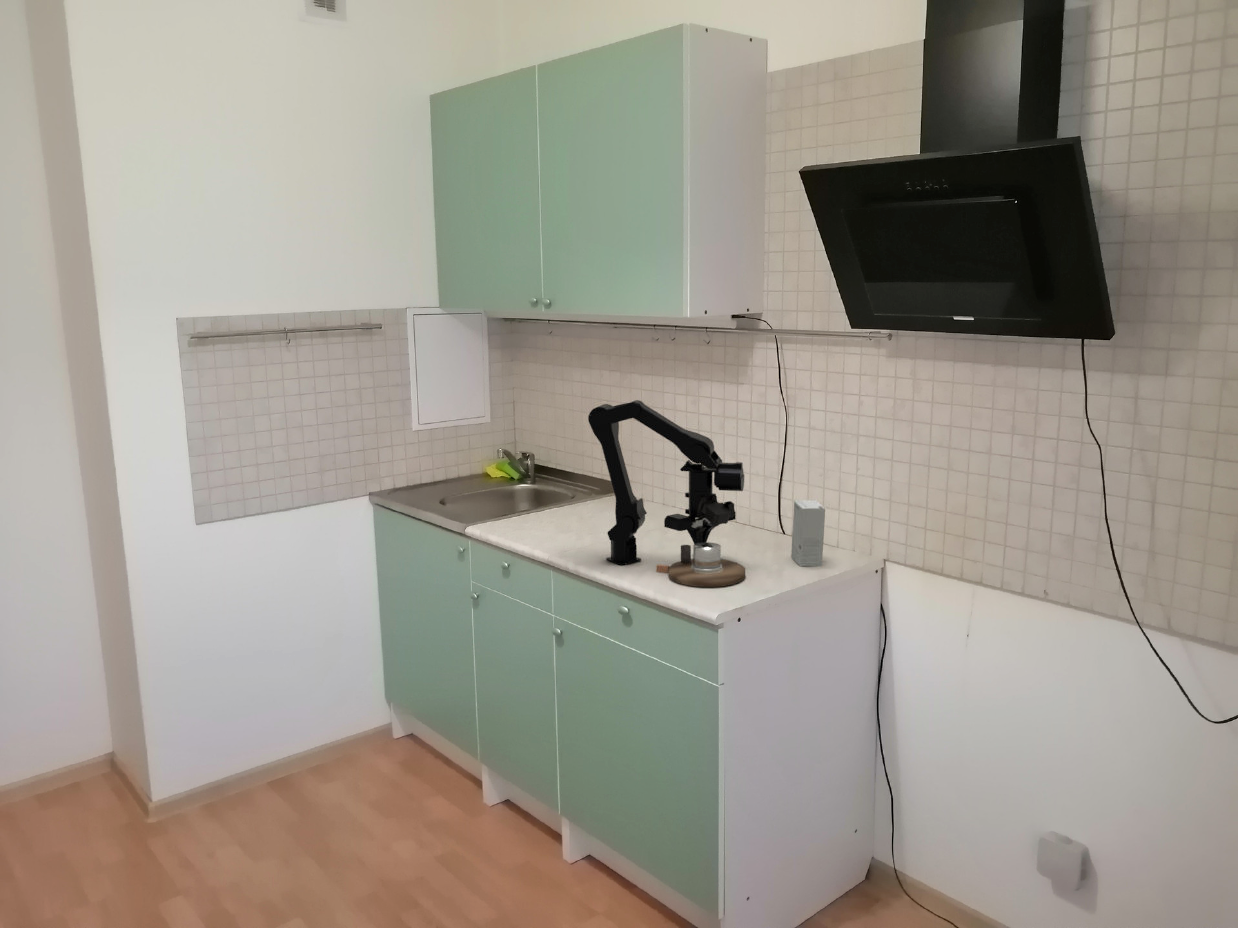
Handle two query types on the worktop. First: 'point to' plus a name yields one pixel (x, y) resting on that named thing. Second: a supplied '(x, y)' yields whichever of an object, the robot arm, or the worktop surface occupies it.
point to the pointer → (662, 568)
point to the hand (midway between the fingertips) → (700, 551)
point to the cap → (706, 557)
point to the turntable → (687, 576)
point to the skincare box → (808, 532)
